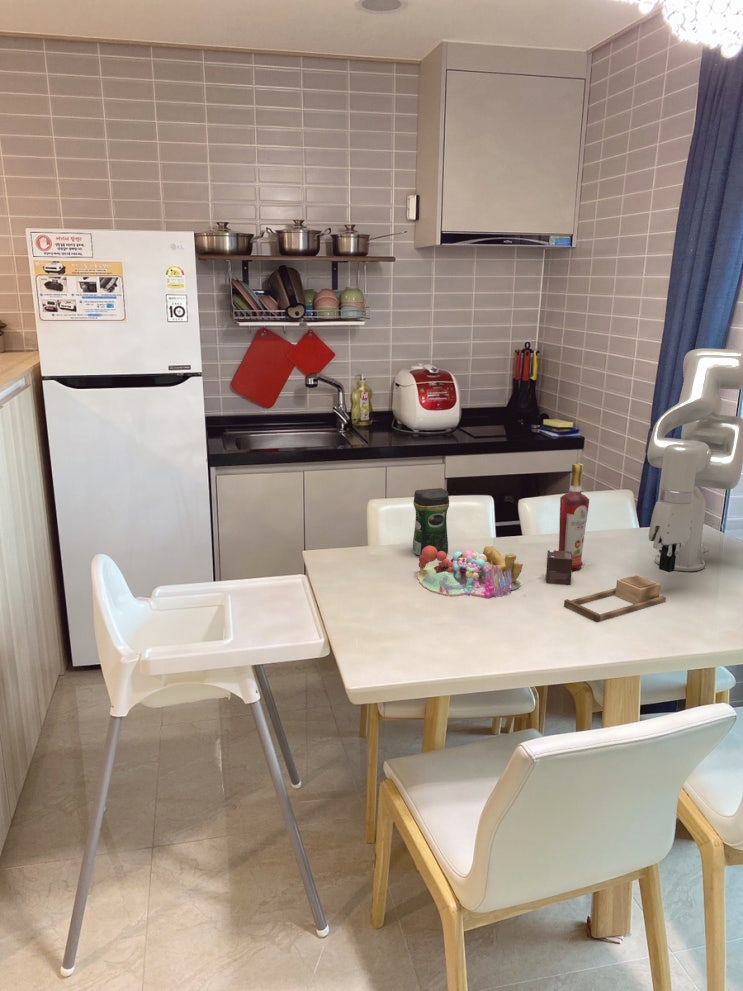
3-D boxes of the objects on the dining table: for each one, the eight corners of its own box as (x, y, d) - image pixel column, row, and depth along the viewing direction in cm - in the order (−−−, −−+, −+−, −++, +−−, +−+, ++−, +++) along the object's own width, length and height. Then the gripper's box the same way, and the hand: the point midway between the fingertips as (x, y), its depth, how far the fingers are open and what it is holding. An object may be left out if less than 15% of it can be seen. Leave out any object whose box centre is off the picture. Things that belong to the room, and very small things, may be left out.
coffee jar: (439, 547, 218) (442, 484, 213) (451, 556, 211) (454, 491, 206) (408, 551, 215) (409, 486, 210) (419, 560, 208) (421, 494, 203)
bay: (631, 589, 189) (632, 581, 189) (665, 603, 181) (666, 595, 180) (563, 608, 178) (564, 600, 177) (596, 623, 169) (597, 615, 169)
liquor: (573, 561, 208) (581, 460, 201) (588, 570, 202) (598, 466, 194) (549, 563, 206) (557, 462, 199) (564, 573, 199) (573, 468, 192)
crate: (635, 590, 188) (636, 574, 187) (658, 599, 182) (660, 583, 181) (615, 595, 184) (616, 579, 183) (638, 605, 178) (640, 589, 177)
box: (570, 587, 190) (573, 559, 188) (545, 585, 192) (547, 557, 190) (569, 578, 196) (571, 551, 194) (545, 576, 197) (547, 549, 195)
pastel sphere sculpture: (483, 561, 209) (485, 528, 206) (538, 591, 189) (540, 555, 186) (402, 574, 198) (403, 540, 196) (451, 608, 178) (453, 570, 175)
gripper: (682, 490, 189) (673, 561, 193) (641, 496, 181) (633, 570, 185) (709, 496, 182) (699, 570, 187) (668, 503, 175) (658, 579, 179)
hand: (666, 570), depth 186 cm, fingers closed
